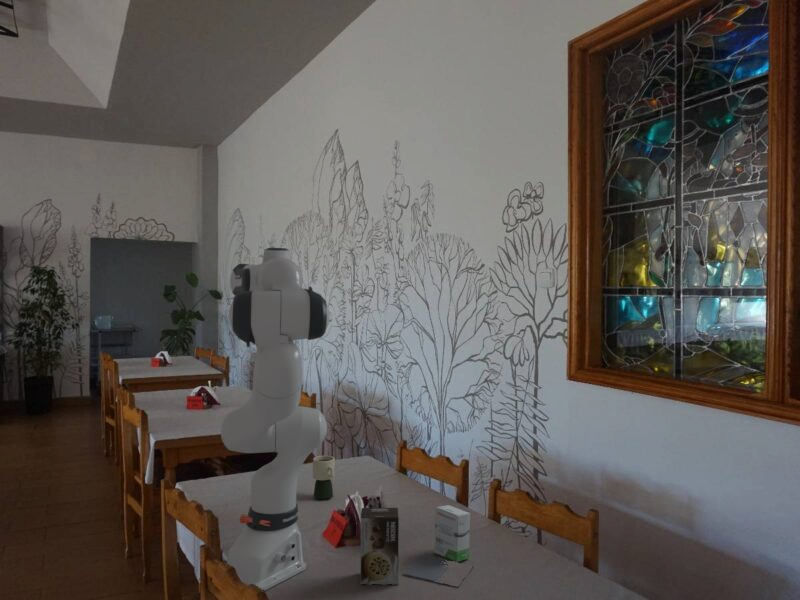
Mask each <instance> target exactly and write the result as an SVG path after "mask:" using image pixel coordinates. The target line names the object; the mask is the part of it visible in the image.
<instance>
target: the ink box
mask: <svg viewBox="0 0 800 600" xmlns="http://www.w3.org/2000/svg"><path fill="white" fill-rule="evenodd" d="M434 518H435V523H434V525H435V526H434V542H433V545H434V546H433V552H434V553H435V554H437V555H439V556H441V557H443V558H445V559H447V560H452V561H455V562H463V561H465V560H467V559H468V560H469V557H470V535H471V534H470V531H471V528H470V527H471V525H470V524H471V513H470V512H469V511H468V512H467V511H465V510H462V509H460V508H457V507H454V506H453V505H450V504H447V505H441V506H437V507H436V508H435V517H434Z"/></svg>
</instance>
